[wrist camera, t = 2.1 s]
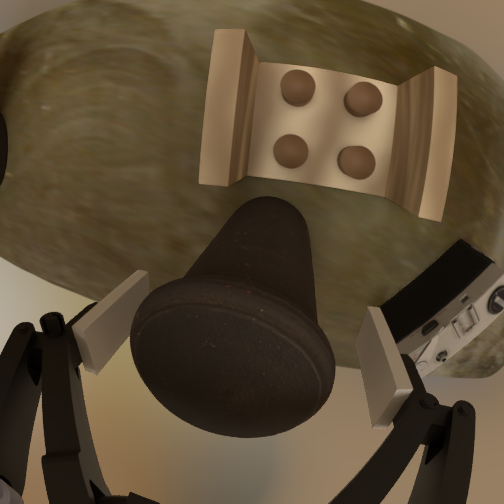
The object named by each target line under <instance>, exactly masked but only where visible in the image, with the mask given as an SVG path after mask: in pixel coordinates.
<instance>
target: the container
mask: <svg viewBox="0 0 504 504" xmlns="http://www.w3.org/2000/svg"><path fill="white" fill-rule="evenodd" d="M130 346H131V352H132V356H133V360H134V363H135V366H136V368H137V370H138V372H139V374H140V376H141V378H142V380H143V381H144V383H145V384H146V386H147V387H148V389H149V390H150V391H151V393H152V394H153V395H154V397H155V398H156V399H157V400H158V401H159V402H160V403H161V404H162V405H163V406H164V407H165V408H166V409H168V410H169V411H170V412H172V413H173V414H174V415H176V416H177V417H179V418H180V419H182V420H183V421H185V422H187V423H189V424H191V425H193V426H195V427H198V428H200V429H202V430H205V431H208V432H211V433H215V434H220V435H224V436H230V437H239V438H257V437H265V436H272V435H276V434H278V433H282V432H285V431H288V430H290V429H292V428H294V427H296V426H298V425H300V424H302V423H303V422H305V421H307V420H308V419H310V418H311V417H312V416H313V415H315V414H316V413H317V412H318V411H319V410H320V409H321V407H322V406H323V405H324V404H325V402H326V401H327V399H328V397H329V395H330V393H331V391H332V388H333V384H334V379H335V359H334V354H333V351H332V348H331V346H330V343H329V341H328V339H327V337H326V336H325V334H324V332H323V331H322V329H321V328H320V326H319V325H318V321H317V310H316V300H315V286H314V274H313V267H312V256H311V247H310V239H309V233H308V229H307V225H306V222H305V220H304V218H303V216H302V215H301V214H300V212H299V211H298V210H297V209H296V208H295V207H294V206H293V205H291V204H290V203H288V202H286V201H284V200H282V199H279V198H275V197H258V198H255V199H252V200H250V201H248V202H246V203H244V204H243V205H242V206H241V207H240V208H239V209H238V210H237V211H236V212H235V213H234V214H233V215H232V216H231V218H230V219H229V220H228V222H227V223H226V224H225V225H224V227H223V228H222V229H221V230H220V232H219V233H218V234H217V236H216V237H215V238H214V239H213V240H212V242H211V243H210V244H209V246H208V247H207V248H206V249H205V250H204V252H203V253H202V254H201V255H200V257H199V258H198V260H197V261H196V262H195V263H194V265H193V266H192V267H191V268H190V270H189V271H188V272H187V273H186V275H185V276H184V277H183V278H180V279H177V280H174V281H171V282H168V283H166V284H164V285H162V286H160V287H158V288H157V289H155V290H154V291H152V292H151V293H150V294H149V295H148V296H147V297H146V298H145V299H144V300H143V301H142V303H141V304H140V306H139V307H138V309H137V311H136V313H135V316H134V318H133V321H132V325H131V331H130Z"/></svg>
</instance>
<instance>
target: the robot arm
mask: <svg viewBox="0 0 504 504" xmlns="http://www.w3.org/2000/svg"><path fill="white" fill-rule="evenodd" d="M6 157H7V134H6V127H5V123H4V120H3V117H2V115H1V114H0V184H1V182H2V179H3V175H4V171H5V165H6ZM149 294H150V289H149V273H148V272H147V271H142V270H137V271H136V272H134V273H133V274H132V275H131V276H130V277H128V278H127V279H126V280H125V281H124V282H122V283H121V284H120V285H119V286H118V287H116V288H115V289H114V290H113V291H112V292H110V293H109V294H108V295H107V296H106V297H105V298H103V299H102V300H101V301H100V302H99V303H98V302H94V303H92V304H90V305H88V306H87V307H85V308H84V309H83V310H82V311H81V312H80V313H79V314H78V315H76V316H75V317H74V318H73V319H71V320H70V321H69V322H68V323H67V324H66V325H65V322H64V318H63V315H61V313H58V312H50V313H47V314H45V315H43V316H42V317H41V318H40V324H41V328H42V331H43V332H37V331H35V328H34V326H33V324H32V323H30V322H23V323H20V324H18V325H17V326H16V327H15V328H14V329H13V331H12V333H11V335H10V337H9V339H8V341H7V343H6V345H5V346H4V349H3V351H2V352H1V355H0V504H24V502H23V500H22V494H23V490H24V486H25V479H26V470H27V462H28V455H29V448H30V442H31V436H32V431H33V426H34V421H35V416H36V412H37V407H38V403H39V399H40V395H41V391H42V412H43V428H44V437H45V446H46V455H43V456H42V469H43V474H44V480H45V485H46V491H47V495H48V500H49V504H160V503H158V502H156V501H153V500H150V499H148V498H145V497H142V496H140V495H137V494H135V493H132V492H130V493H129V496H120V495H117V496H116V495H114V496H113V495H111V493H110V491H109V489H108V487H107V486H106V484H105V481H104V479H103V476H102V472H101V469H100V466H99V463H98V459H97V455H96V452H95V448H94V444H93V440H92V436H91V431H90V427H89V422H88V417H87V413H86V407H85V401H84V395H83V389H82V383H81V375H80V369H79V367H78V366H79V365H80V364H81V363H82V362H83V365H84V368H85V370H86V371H88V372H91V373H93V374H96V375H97V374H98V373H99V372H100V371H101V369H102V368H103V367H104V366H105V365H106V363H107V362H108V361H109V360H110V358H111V357H112V356H113V355H114V353H115V352H116V351H117V350H118V349H119V347H120V346H121V345H122V344H123V343H124V341H125V340H126V339H127V338H128V337H129V335H130V331H131V325H132V321H133V318H134V316H135V313H136V311H137V309H138V307H139V306H140V304H141V303H142V301H143V300H144V299H145V298H146V297H147V296H148V295H149ZM355 346H356V350H357V354H358V359H359V363H360V368H361V372H362V377H363V382H364V386H365V391H366V396H367V402H368V407H369V412H370V418H371V423H372V428H373V429H386V428H388V426H389V425H390V424H391V422H392V421H393V425H394V428H393V430H392V431H391V432H390V434H389V435H388V436H387V438H386V439H385V441H384V442H383V443H382V444H381V446H380V447H379V448H378V450H377V451H376V452H375V453H374V455H373V456H372V457H371V458H370V460H369V461H368V462H367V463H366V464H365V465H364V467H363V468H362V469H361V470H360V471H359V472H358V473H357V475H356V476H355V477H354V478H353V479H352V480H351V481H350V482H349V483H348V484H347V485H346V486H345V487H344V489H342V490H341V491H340V493H339V494H338V495H337V496H335V497H334V499H332V501H330V502H329V503H328V504H380V503H381V502H382V500H383V499H384V498H385V496H386V495H387V494H388V492H389V491H390V490H391V488H392V487H393V486H394V484H395V483H396V481H397V480H398V479H399V477H400V476H401V474H402V473H403V471H404V470H405V468H406V467H407V465H408V463H409V462H410V460H411V459H412V457H413V455H414V454H415V452H416V451H417V449H418V447H419V445H420V444H423V445H425V448H424V452H423V456H422V460H421V464H420V467H419V471H418V474H417V477H416V481H415V484H414V487H413V490H412V493H411V496H410V498H409V501H408V504H466V500H467V496H468V490H469V484H470V478H471V471H472V470H471V469H472V462H473V453H474V440H475V409H474V407H473V406H472V405H471V404H470V403H468V402H466V401H463V400H460V401H457V402H456V403H455V404H454V405H453V407H449V406H444V405H440V404H439V401H438V400H437V398H436V397H434V396H433V395H432V394H429V393H427V392H426V390H425V387H424V385H423V382H422V380H421V377H420V375H419V374H418V370H417V369H416V366H415V363H414V361H413V360H412V359H411V357H410V356H409V355H408V354H400V353H399V351H398V348H397V346H396V344H395V341H394V339H393V336H392V334H391V332H390V329H389V327H388V325H387V323H386V320H385V318H384V316H383V314H382V311H381V309H380V308H379V307H370V306H368V307H367V311H366V314H365V317H364V320H363V323H362V326H361V329H360V331H359V334H358V337H357V340H356V343H355Z"/></svg>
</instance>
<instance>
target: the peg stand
mask: <svg viewBox="0 0 504 504" xmlns="http://www.w3.org/2000/svg"><path fill="white" fill-rule="evenodd" d="M456 112H457V76H456V75H454V74H452V73H450V72H447V71H445V70H443V69H440V68H438V67H435V66H434V67H432V68H430V69H428V70H426V71H424V72H422V73H420V74H419V75H417V76H415V77H413V78H411V79H409V80H408V81H406V82H404V83H402V84H400V85H398V86H395V85H392V84H388V83H385V82H381V81H377V80H373V79H369V78H365V77H361V76H356V75H352V74H347V73H342V72H336V71H331V70H325V69H319V68H312V67H305V66H297V65H288V64H278V63H265V62H259V61H258V58H257V56H256V54H255V51H254V49H253V46H252V44H251V42H250V39H249V37H248V35H247V32H246V30H245V29H215V35H214V41H213V48H212V55H211V62H210V70H209V78H208V86H207V94H206V103H205V113H204V122H203V133H202V144H201V157H200V170H199V184H207V185H218V186H230V185H232V184H233V183H235V182H237V181H238V180H240V179H242V178H244V177H246V176H255V177H263V178H272V179H279V180H287V181H294V182H301V183H308V184H315V185H321V186H327V187H333V188H339V189H345V190H350V191H356V192H361V193H367V194H372V195H377V196H382V197H385V198H387V199H389V200H391V201H392V202H394V203H396V204H398V205H399V206H401V207H403V208H404V209H406V210H408V211H409V212H411V213H413V214H414V215H416V216H418V217H421V218H426V219H430V220H434V221H439V222H441V219H442V215H443V210H444V206H445V201H446V196H447V190H448V185H449V179H450V172H451V165H452V158H453V149H454V140H455V128H456Z"/></svg>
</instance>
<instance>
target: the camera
mask: <svg viewBox="0 0 504 504" xmlns="http://www.w3.org/2000/svg"><path fill="white" fill-rule="evenodd" d="M380 309H381V311H382V314H383V316H384V318H385V320H386V323H387V325H388V327H389V329H390V332H391V334H392V336H393V339H394V341H395V344H396V346H397V348H398V351H399V353H400V354H408V355H409V356H410V357H411V359H412V360H413V361H414V363H415V366H416V369H417V370H418V374H419V375H420V377H421V378H422V377H424V376H425V375H427V374H428V373H430V372H431V371H433V370H434V369H435V368H437V367H438V366H440V365H441V364H442V363H444V362H445V361H447V360H448V359H449V358H450V357H452V356H453V355H454V354H455V353H457V352H458V351H459V350H460V349H461V348H463V347H464V346H465V345H466V344H468V343H469V342H470V341H471V340H472V339H474V338H475V337H476V336H477V335H478V334H479V333H481V332H482V331H483V330H484V329H485V328H486V327H487V326H488V325H489V324H490V323H491V322H493V321H494V320H495V319H496V318H497V317H498V316H499V315H500V314H501V313H502V312H503V311H504V271H503V270H502V269H501V268H499V267H498V266H497V265H496V264H495V262H494V261H492V260H491V259H490V258H488V257H487V256H485V255H484V254H483V253H482V252H481V251H480V250H478V249H477V248H475V247H474V246H472V245H470V244H468V243H466V242H465V241H463V240H462V239H460V240H459V241H458V242H457V243H456V244H455V245H454V246H453V247H451V248H450V249H449V250H448V251H447V252H446V253H445V254H444V255H443V256H442V257H441V258H439V259H438V260H437V261H436V262H435V263H434V264H433V265H432V266H430V267H429V268H428V269H427V270H426V271H425V272H424V273H422V274H421V275H420V276H419V277H418V278H416V279H415V280H414V281H413V282H412V283H410V284H409V285H408V286H407V287H406V288H404V289H403V290H402V291H401V292H399V293H398V294H397V295H396V296H394V297H393V298H392V299H390V300H389V301H388V302H387V303H385V304H384V305H383V306H381V307H380Z"/></svg>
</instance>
